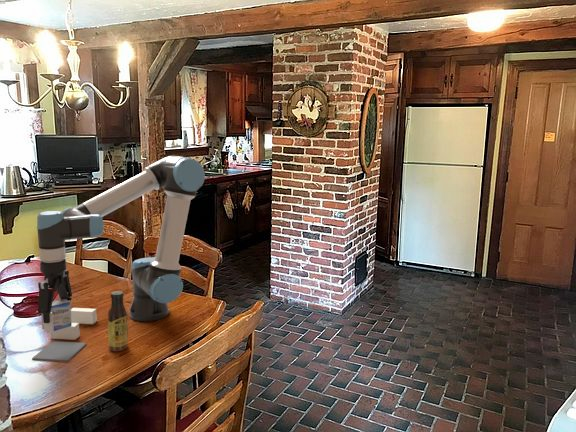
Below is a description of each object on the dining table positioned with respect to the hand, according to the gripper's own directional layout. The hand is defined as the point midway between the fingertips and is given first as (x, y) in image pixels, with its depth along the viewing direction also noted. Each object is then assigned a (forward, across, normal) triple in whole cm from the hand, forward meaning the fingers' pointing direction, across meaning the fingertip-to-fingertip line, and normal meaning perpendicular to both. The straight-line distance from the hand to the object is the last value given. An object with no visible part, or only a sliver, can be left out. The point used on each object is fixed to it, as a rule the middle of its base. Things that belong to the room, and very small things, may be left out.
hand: (57, 325), depth 156 cm
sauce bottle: (+10, -5, +18) cm, 21 cm away
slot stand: (+9, -17, -4) cm, 20 cm away
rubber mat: (+10, 0, 0) cm, 10 cm away
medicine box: (+1, 0, 0) cm, 1 cm away
